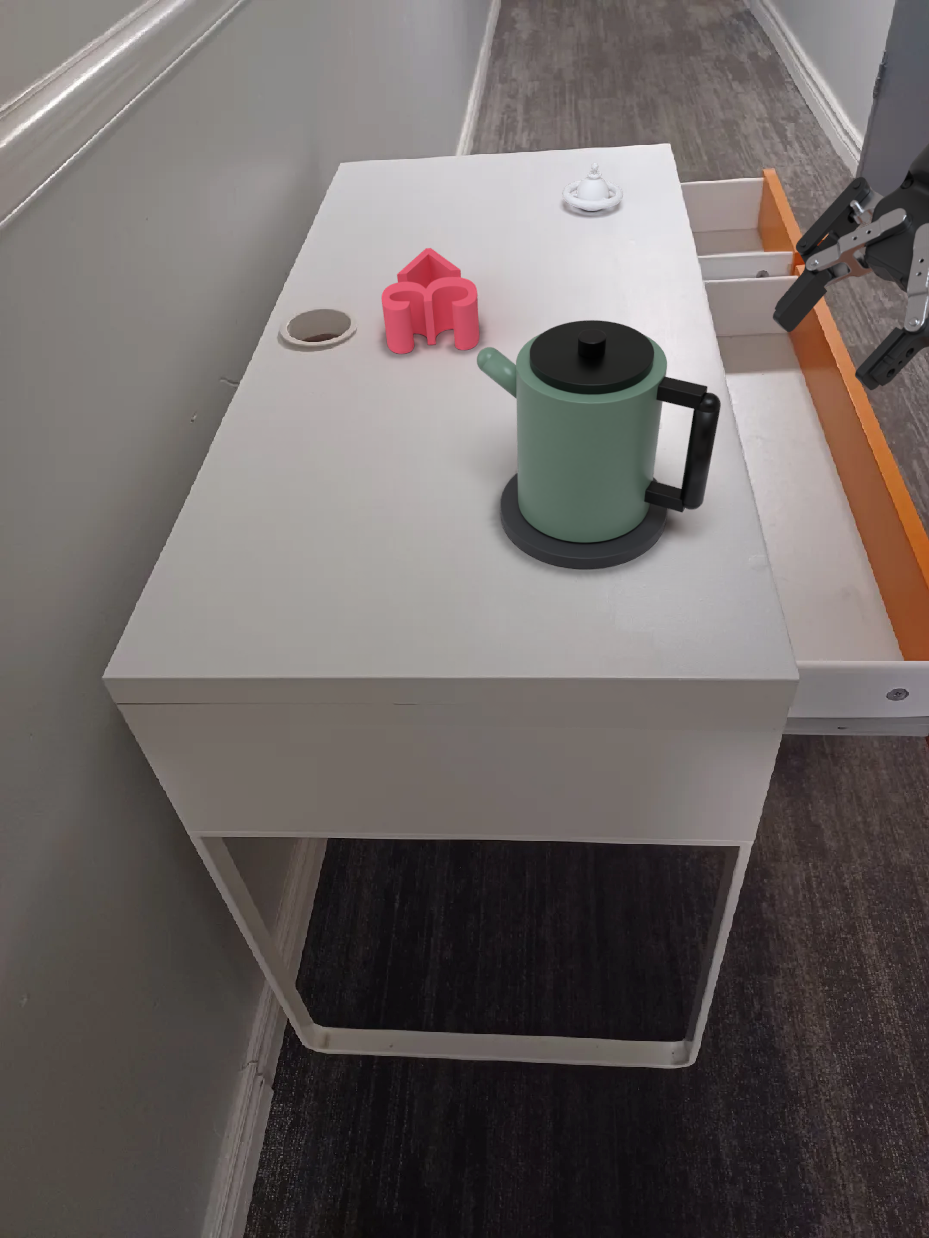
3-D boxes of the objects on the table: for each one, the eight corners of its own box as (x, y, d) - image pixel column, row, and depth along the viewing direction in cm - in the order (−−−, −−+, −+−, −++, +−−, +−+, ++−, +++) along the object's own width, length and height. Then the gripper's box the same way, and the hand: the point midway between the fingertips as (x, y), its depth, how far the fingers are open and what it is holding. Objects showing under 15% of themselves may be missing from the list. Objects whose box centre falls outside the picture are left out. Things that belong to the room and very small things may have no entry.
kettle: (719, 493, 73) (751, 327, 63) (673, 575, 67) (701, 407, 56) (512, 436, 81) (508, 278, 70) (453, 506, 74) (439, 344, 63)
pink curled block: (390, 292, 104) (385, 250, 101) (476, 287, 104) (474, 245, 100) (385, 354, 95) (380, 311, 91) (480, 349, 94) (478, 305, 91)
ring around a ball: (611, 224, 114) (629, 200, 119) (615, 179, 109) (634, 156, 114) (552, 215, 116) (572, 192, 121) (555, 170, 112) (575, 148, 117)
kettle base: (673, 472, 78) (675, 461, 77) (656, 580, 69) (658, 569, 68) (519, 455, 81) (519, 444, 80) (483, 556, 72) (483, 545, 71)
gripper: (906, 70, 57) (731, 284, 63) (1098, 139, 48) (872, 381, 54) (942, 139, 62) (777, 331, 68) (1121, 213, 53) (913, 427, 59)
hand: (819, 353), depth 61 cm, fingers open, 8 cm apart
